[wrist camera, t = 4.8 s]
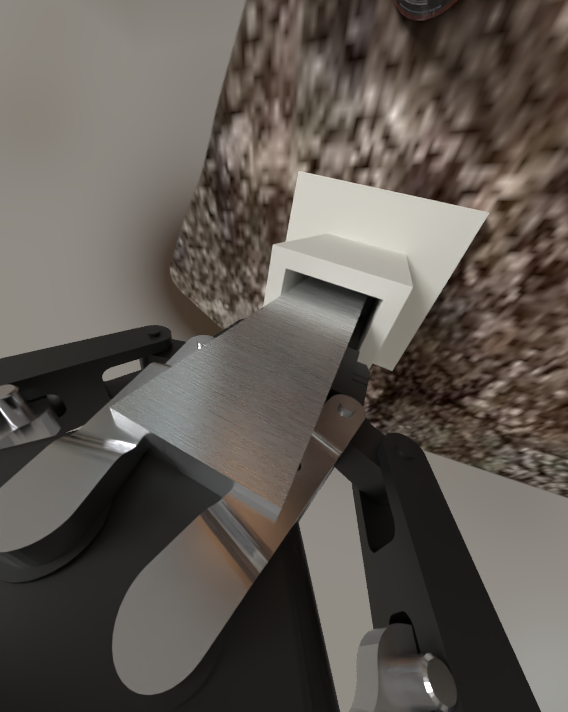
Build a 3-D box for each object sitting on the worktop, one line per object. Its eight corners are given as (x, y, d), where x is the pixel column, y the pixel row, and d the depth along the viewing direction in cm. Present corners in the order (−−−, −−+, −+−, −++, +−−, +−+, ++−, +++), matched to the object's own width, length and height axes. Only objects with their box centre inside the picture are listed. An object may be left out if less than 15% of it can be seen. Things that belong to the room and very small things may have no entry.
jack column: (377, 271, 21) (281, 508, 4) (358, 314, 24) (251, 573, 6) (336, 259, 22) (109, 407, 5) (322, 301, 25) (143, 500, 7)
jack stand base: (483, 213, 19) (634, 203, 7) (392, 364, 28) (388, 474, 16) (304, 173, 22) (194, 121, 10) (275, 319, 31) (200, 381, 19)
